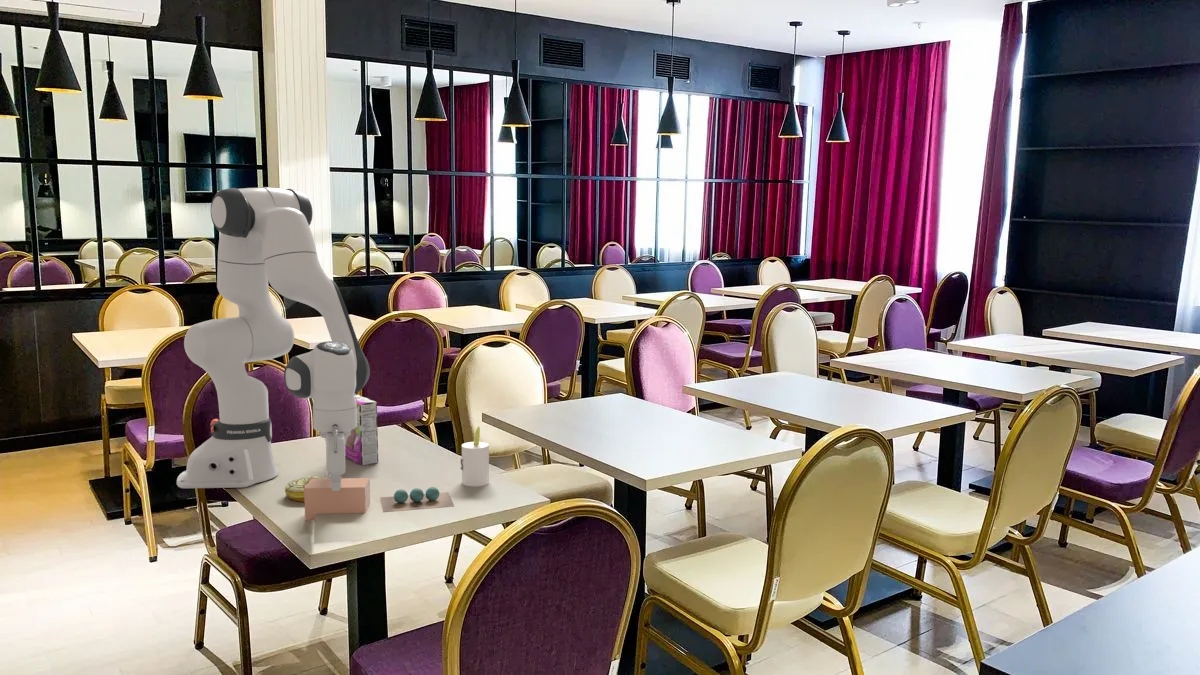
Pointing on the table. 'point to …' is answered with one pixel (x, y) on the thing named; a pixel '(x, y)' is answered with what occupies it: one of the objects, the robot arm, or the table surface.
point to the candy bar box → (363, 434)
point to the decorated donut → (298, 488)
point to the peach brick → (336, 497)
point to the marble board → (415, 506)
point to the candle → (475, 462)
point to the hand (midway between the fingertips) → (335, 482)
